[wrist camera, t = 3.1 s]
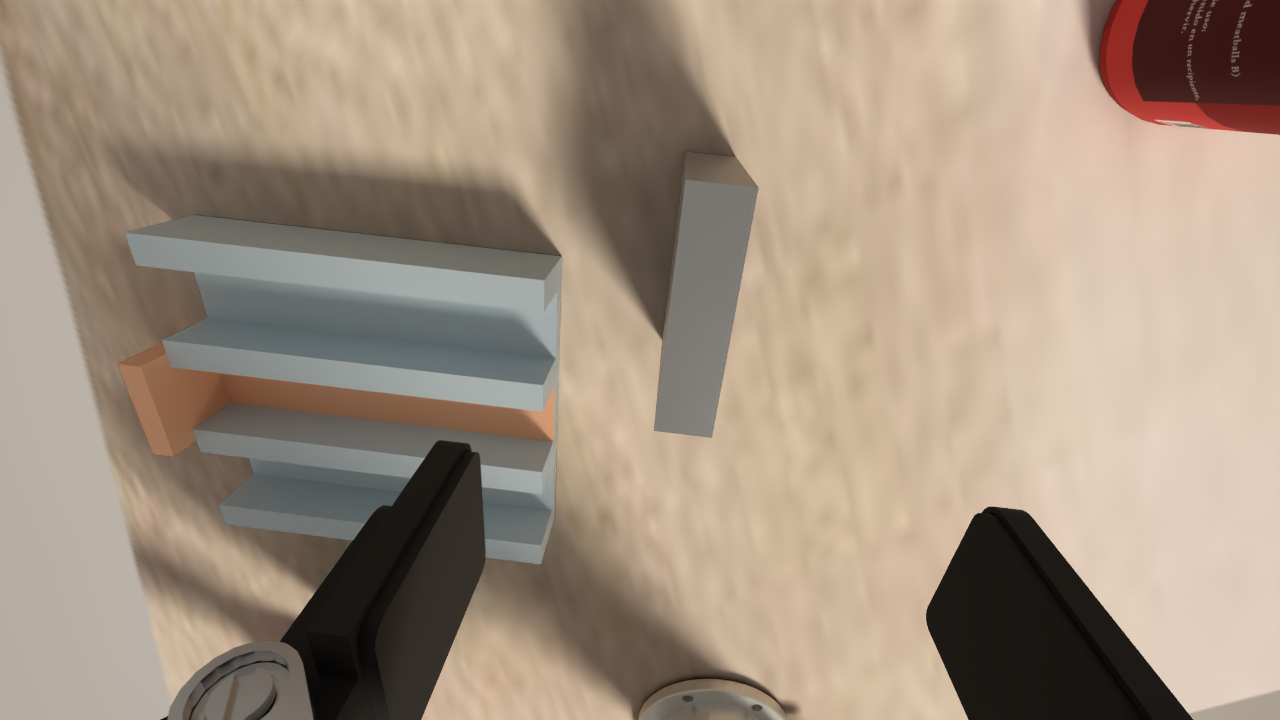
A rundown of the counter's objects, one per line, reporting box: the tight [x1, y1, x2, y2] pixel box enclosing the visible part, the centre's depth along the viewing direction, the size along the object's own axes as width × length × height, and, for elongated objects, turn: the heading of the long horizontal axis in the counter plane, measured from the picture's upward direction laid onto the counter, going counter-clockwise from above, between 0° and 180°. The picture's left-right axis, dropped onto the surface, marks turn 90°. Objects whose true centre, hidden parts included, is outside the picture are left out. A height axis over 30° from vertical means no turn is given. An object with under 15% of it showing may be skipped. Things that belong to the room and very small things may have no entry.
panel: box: [654, 151, 758, 438], centre depth 24 cm, size 10×2×9 cm, turn 175°
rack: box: [118, 215, 562, 564], centre depth 30 cm, size 21×18×6 cm
